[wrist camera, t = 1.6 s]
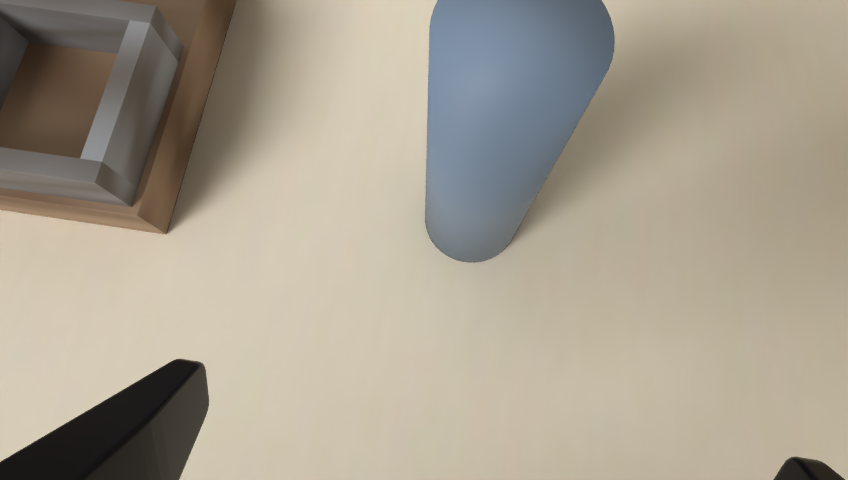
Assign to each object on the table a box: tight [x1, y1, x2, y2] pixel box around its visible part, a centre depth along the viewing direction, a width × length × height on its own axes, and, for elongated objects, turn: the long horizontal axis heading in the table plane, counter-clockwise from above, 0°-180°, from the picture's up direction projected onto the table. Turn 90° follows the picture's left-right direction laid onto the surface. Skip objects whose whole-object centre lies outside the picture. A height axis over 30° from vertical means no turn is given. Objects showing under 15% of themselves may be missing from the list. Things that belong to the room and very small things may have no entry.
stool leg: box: [425, 0, 615, 262], centre depth 18 cm, size 4×4×12 cm
